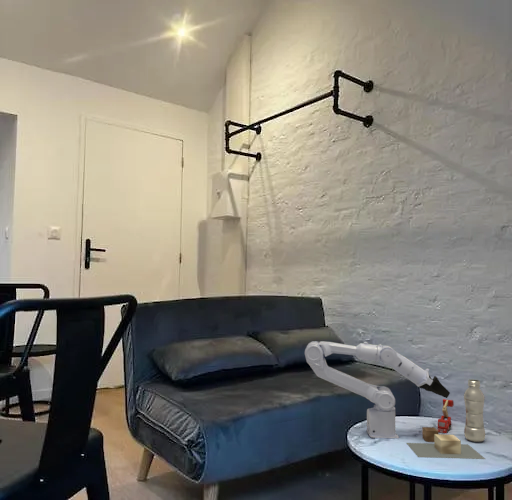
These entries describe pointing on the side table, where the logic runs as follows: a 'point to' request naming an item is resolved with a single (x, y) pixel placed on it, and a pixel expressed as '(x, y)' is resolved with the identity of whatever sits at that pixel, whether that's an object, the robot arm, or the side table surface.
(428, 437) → the walnut block
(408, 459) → the side table surface
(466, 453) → the grey flat rectangular panel
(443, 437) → the birch base block
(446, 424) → the toy fire truck
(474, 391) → the plastic bottle
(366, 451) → the side table surface
